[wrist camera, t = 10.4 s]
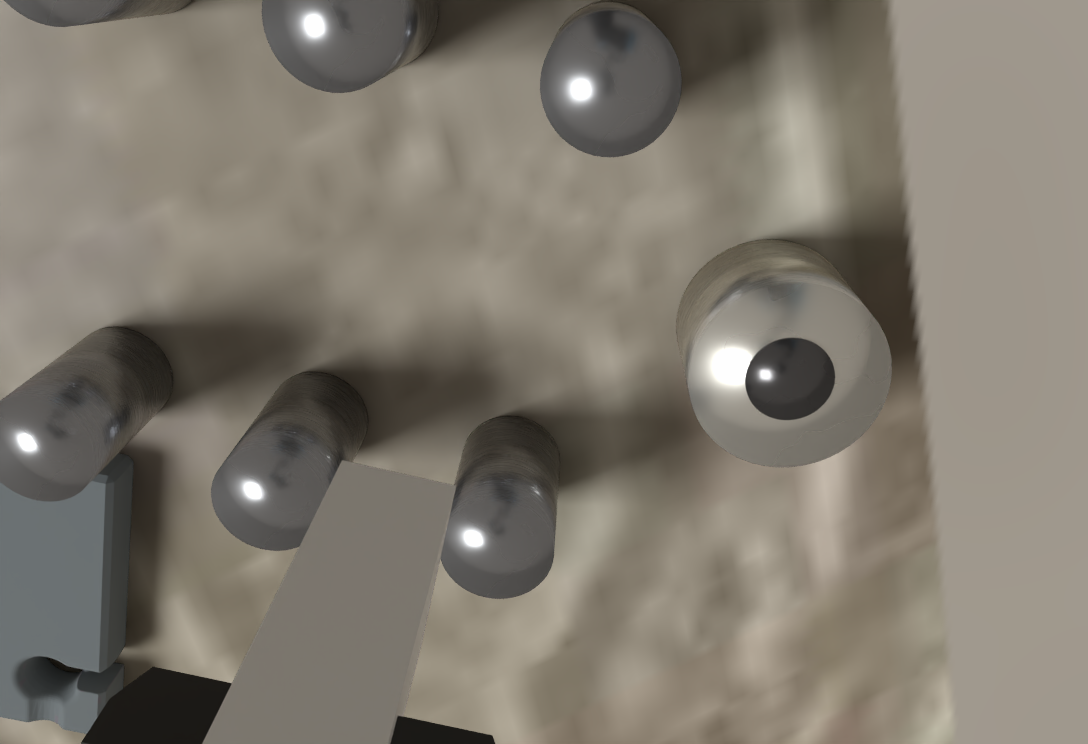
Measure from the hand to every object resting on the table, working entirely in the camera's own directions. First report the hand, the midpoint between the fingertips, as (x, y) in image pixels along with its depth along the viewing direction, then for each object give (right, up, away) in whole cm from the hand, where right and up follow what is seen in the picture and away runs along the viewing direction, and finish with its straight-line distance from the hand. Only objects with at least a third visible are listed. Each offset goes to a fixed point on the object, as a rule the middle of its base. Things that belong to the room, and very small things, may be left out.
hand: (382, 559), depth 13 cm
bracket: (-14, -4, +20) cm, 25 cm away
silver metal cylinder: (+8, +4, +15) cm, 18 cm away
